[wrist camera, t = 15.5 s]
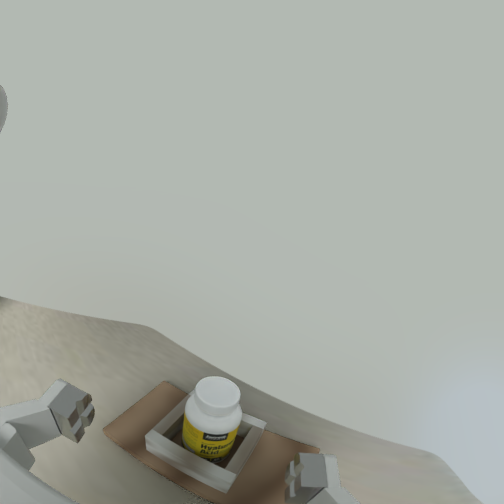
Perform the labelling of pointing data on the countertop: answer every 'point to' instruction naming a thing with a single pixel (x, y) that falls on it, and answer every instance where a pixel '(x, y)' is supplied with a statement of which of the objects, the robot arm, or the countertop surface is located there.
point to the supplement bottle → (212, 419)
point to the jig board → (196, 468)
